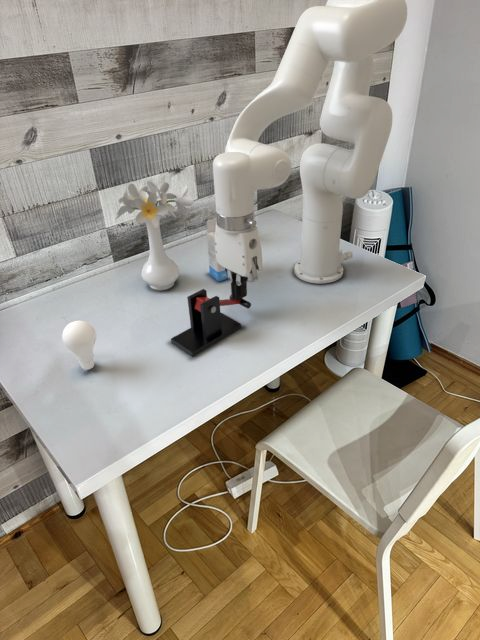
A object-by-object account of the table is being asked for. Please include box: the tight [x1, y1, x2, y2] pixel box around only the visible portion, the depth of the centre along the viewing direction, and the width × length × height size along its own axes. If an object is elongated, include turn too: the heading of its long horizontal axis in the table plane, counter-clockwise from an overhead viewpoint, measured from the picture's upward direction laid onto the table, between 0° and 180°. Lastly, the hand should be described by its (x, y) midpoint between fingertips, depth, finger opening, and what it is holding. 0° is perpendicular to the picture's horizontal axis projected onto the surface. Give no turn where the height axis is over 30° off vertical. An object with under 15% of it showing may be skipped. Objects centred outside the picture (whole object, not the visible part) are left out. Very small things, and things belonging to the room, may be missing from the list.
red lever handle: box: [195, 293, 252, 312], centre depth 108 cm, size 13×6×2 cm, turn 136°
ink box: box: [206, 218, 229, 282], centre depth 126 cm, size 8×5×15 cm, turn 123°
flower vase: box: [114, 180, 194, 291], centre depth 120 cm, size 13×18×25 cm
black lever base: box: [170, 288, 242, 358], centre depth 106 cm, size 14×7×10 cm, turn 136°
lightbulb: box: [61, 320, 97, 371], centre depth 98 cm, size 6×6×11 cm
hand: (239, 296), depth 112 cm, fingers closed
